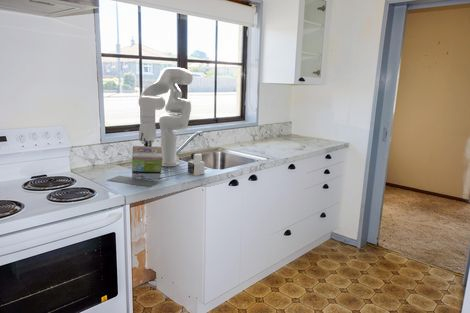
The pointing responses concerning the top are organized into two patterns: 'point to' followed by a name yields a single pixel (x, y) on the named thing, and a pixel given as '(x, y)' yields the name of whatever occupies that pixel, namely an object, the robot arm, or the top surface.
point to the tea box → (146, 162)
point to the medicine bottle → (196, 164)
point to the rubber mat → (134, 181)
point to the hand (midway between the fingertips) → (148, 153)
